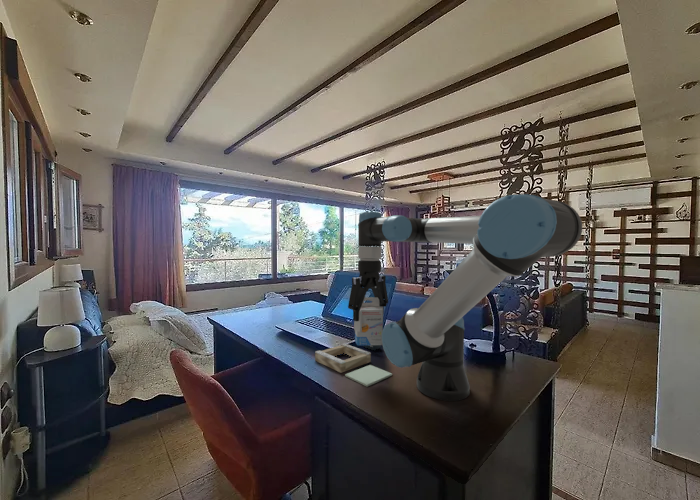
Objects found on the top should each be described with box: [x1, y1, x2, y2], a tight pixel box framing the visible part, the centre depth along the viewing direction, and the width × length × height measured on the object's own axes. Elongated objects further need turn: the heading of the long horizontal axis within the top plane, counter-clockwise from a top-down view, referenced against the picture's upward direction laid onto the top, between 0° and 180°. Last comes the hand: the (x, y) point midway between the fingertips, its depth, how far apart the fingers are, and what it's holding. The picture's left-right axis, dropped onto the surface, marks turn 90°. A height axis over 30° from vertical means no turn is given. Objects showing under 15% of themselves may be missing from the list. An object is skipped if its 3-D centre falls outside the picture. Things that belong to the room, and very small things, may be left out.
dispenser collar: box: [314, 342, 372, 374], centre depth 111 cm, size 14×14×3 cm
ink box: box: [354, 296, 384, 346], centre depth 99 cm, size 8×5×15 cm, turn 98°
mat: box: [344, 364, 393, 388], centre depth 99 cm, size 10×12×1 cm
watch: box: [363, 345, 381, 351], centre depth 127 cm, size 6×8×11 cm
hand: (368, 327), depth 99 cm, fingers closed on ink box, 9 cm apart
